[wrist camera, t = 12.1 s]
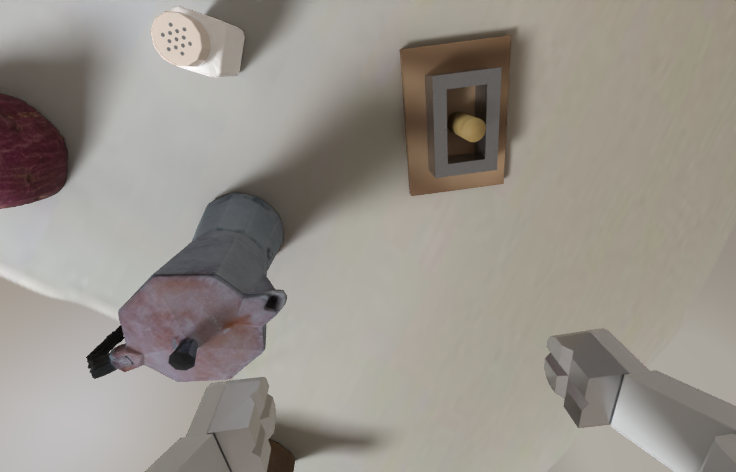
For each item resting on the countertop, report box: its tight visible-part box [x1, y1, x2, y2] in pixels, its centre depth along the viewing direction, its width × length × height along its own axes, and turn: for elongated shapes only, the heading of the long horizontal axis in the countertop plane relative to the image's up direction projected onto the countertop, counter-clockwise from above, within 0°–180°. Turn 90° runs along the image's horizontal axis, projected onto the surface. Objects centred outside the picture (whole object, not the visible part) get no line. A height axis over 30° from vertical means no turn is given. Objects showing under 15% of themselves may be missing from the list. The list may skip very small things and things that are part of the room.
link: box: [425, 67, 502, 178], centre depth 33 cm, size 9×6×3 cm, turn 7°
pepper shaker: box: [151, 6, 245, 77], centre depth 27 cm, size 4×4×10 cm
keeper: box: [400, 35, 511, 196], centre depth 33 cm, size 14×10×6 cm
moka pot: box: [86, 193, 287, 382], centre depth 30 cm, size 10×15×20 cm, turn 114°
